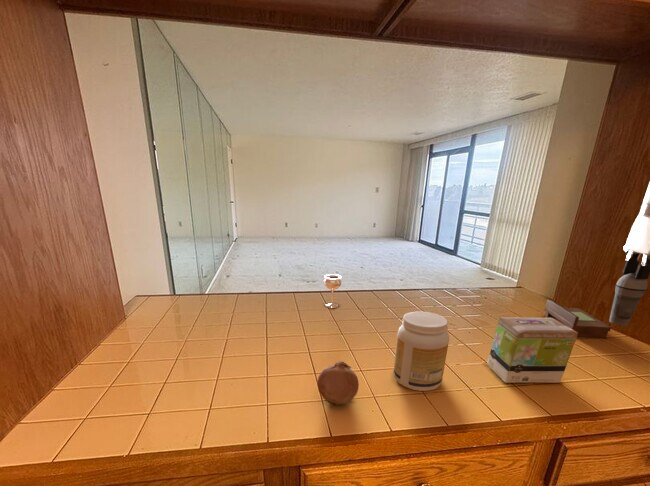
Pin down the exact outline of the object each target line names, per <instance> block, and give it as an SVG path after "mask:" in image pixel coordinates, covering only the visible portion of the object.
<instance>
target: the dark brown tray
mask: <svg viewBox="0 0 650 486" xmlns="http://www.w3.org/2000/svg"><path fill="white" fill-rule="evenodd" d="M544 312H545V313H544V317H543V318H554V319H555V320H557V321H559V322H560V323H562V324H564V325H566V326H567V327H569V328H571V329H573V330H574V331H576V332H578V335H577V338H594V339H607V336H608V334H609V332H611V329H612V327H611V326H610V325H608V324H606V323H605V322H603V321H602V320H599V319H598V318H596V317H595V316H593V315H591V314H589V313H588V312H586V311H584V310H582V309H581V308H580V307H564V306H562V305H561V304H559V303H557V302H556V301H553V300H552V299H549V298H547V301H546V304H545V307H544Z"/></svg>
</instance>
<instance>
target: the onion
mask: <svg viewBox="0 0 650 486" xmlns="http://www.w3.org/2000/svg"><path fill="white" fill-rule="evenodd" d="M316 381H317V382H316V383H317V390H318V392H319V393H320V395H321V397H322V398H323V399H324V401H325V402H326V403H328V404H331V405H332V406H341V405H342V406H344V405H345V404H347V403H351V402H352V401H353V400H354V398H355V397H356V395H357V394H358V391H359V385H360V384H359V383H360V382H359V378H358V376H357V374H356V372H355V371H354V370H353V369H352V367H351V366H350V365H349V364H347V362H344V361H339V362H335V363H334V364H331V365H328V366H327V367H324V368H323V369H322V370H321V372H319V374H318V377H317V380H316Z"/></svg>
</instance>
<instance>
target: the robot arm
mask: <svg viewBox="0 0 650 486" xmlns="http://www.w3.org/2000/svg"><path fill="white" fill-rule="evenodd" d="M646 188H647V189H646V192H645V195H644V197H643V200H642V203H641V206H640V208H639V212H638V215H637V216H636V218H635V220H634V222H633V224H632V225H631V228H630V231H629V234H628V237H627V238H626V243H625V245H624V246H623V251H624V252H625V256H626V257H625V261H626V262H625V264H624V268H623V270H622V275H623V276H624V275H626V274H629V273H636V275H635V279H646V280H648V279H649V276H650V258H649V257H650V182H649V183H648V186H647V187H646ZM641 256H642V259H641V264H640V261H639V259H640V258H641Z"/></svg>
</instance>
